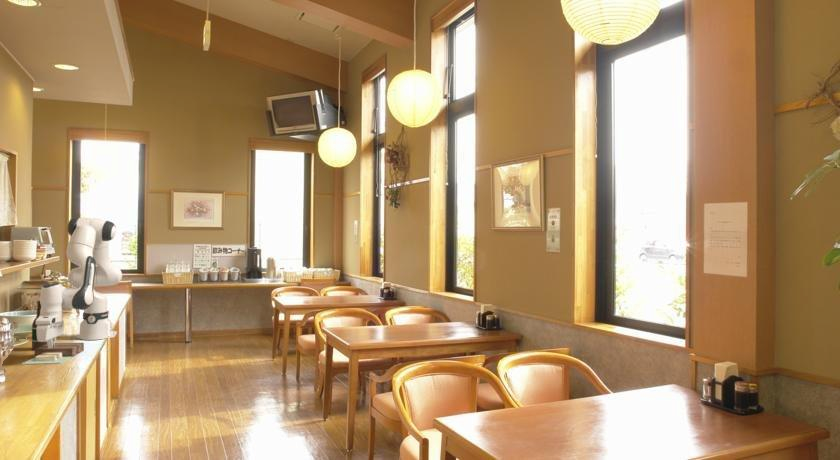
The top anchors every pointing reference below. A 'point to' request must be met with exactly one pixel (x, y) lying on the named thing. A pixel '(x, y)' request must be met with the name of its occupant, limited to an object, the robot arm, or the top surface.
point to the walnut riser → (62, 349)
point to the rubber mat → (58, 361)
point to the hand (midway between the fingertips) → (51, 347)
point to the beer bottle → (34, 333)
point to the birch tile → (48, 356)
